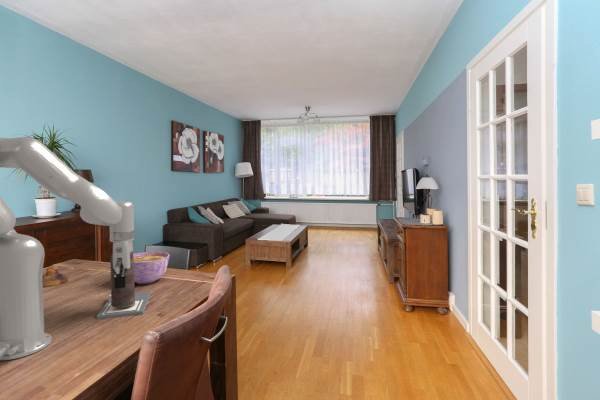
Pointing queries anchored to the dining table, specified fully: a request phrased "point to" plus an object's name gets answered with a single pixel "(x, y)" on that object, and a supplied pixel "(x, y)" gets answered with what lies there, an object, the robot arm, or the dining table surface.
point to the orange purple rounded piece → (53, 277)
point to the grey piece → (137, 309)
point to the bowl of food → (149, 266)
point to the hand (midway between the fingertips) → (123, 283)
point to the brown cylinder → (123, 295)
